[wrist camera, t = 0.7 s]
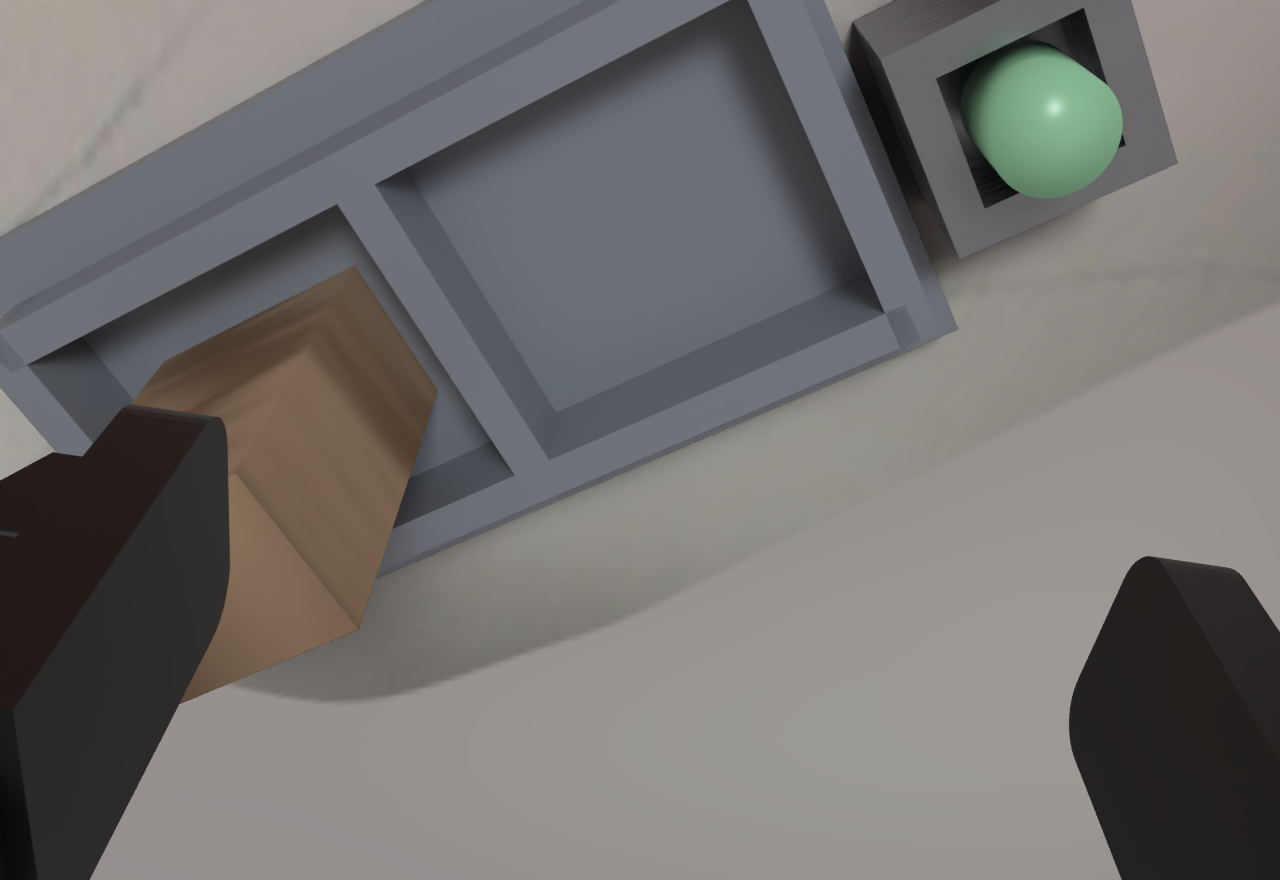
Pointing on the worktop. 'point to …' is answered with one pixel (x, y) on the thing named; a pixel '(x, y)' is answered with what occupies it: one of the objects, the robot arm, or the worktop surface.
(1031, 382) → the worktop surface
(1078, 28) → the button box
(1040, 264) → the worktop surface
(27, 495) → the robot arm
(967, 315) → the worktop surface
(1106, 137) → the button
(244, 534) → the walnut block
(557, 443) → the tray
